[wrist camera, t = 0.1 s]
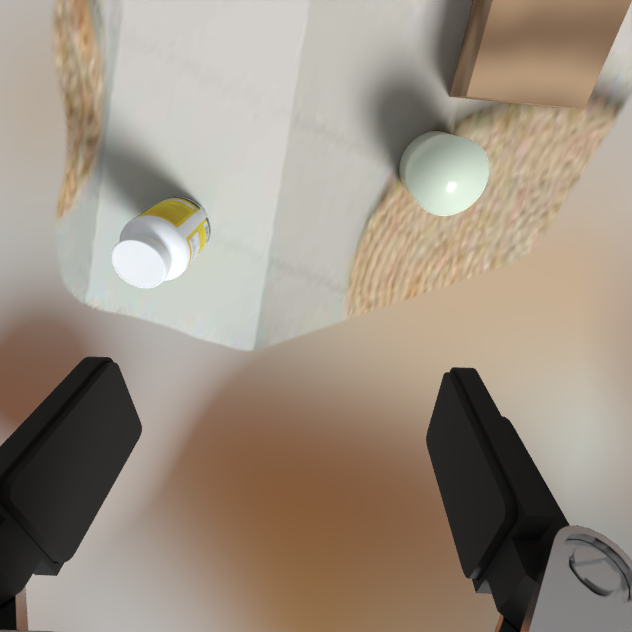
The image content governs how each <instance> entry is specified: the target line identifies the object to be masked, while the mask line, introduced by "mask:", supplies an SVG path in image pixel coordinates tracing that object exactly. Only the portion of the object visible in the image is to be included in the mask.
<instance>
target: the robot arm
mask: <svg viewBox="0 0 632 632" xmlns="http://www.w3.org/2000/svg"><path fill="white" fill-rule="evenodd" d="M141 432H142V425H141V422H140V419H139V417H138V414H137V412H136V409H135V407H134V404H133V401H132V399H131V396H130V394H129V392H128V389H127V386H126V384H125V381H124V378H123V376H122V373H121V371H120V368H119V366H118V364H117V363H114V362H113V360H112V359H111V358H108V357H86V358H84V359H83V360H82V361H81V362H80V363H79V364H78V365H77V366H76V367H75V369H73V370H72V371H71V372H70V374H69V375H68V376H67V377H66V378H65V379H64V380H63V381H62V382H61V383H60V384H59V385H58V386H57V387H56V388H55V389H54V391H53V392H52V393H51V394H50V395H49V396H48V397H47V398H46V399H45V400H44V401H43V402H42V403H41V404H40V405H39V406H38V407H37V409H35V411H34V412H33V413H32V414H31V415H30V416H29V417H28V418H27V419H26V420H25V421H24V422H23V423H22V424H21V425H20V426H19V427H18V428H17V430H16V431H15V432H14V433H13V434H12V435H11V436H10V437H9V438H8V439H7V440H6V441H5V442H4V443H3V444H2V445H1V446H0V632H51V631H28V617H27V602H26V586H25V585H26V584H27V582H28V580H29V579H30V577H31V576H32V574H33V573H34V574H35V575H53V576H57V575H58V573H59V571H60V569H61V567H62V566H63V564H64V562H67V561H68V560H70V559H71V558H72V557H73V555H74V554H75V552H76V550H77V549H78V547H79V545H80V543H81V541H82V540H83V538H84V536H85V534H86V532H87V531H88V529H89V527H90V525H91V524H92V522H93V520H94V518H95V516H96V514H97V513H98V511H99V509H100V507H101V506H102V504H103V502H104V500H105V498H106V497H107V495H108V493H109V491H110V489H111V488H112V486H113V484H114V482H115V481H116V479H117V477H118V475H119V473H120V471H121V470H122V468H123V466H124V464H125V463H126V461H127V459H128V457H129V456H130V453H131V452H132V450H133V448H134V446H135V445H136V443H137V441H138V439H139V437H140V435H141ZM426 442H427V447H428V451H429V454H430V458H431V462H432V465H433V469H434V472H435V476H436V479H437V482H438V486H439V490H440V493H441V496H442V500H443V504H444V507H445V510H446V513H447V517H448V521H449V524H450V528H451V531H452V535H453V538H454V542H455V545H456V549H457V552H458V555H459V559H460V563H461V566H462V569H463V572H464V574H465V576H466V577H467V578H469V579H472V581H473V584H474V588H475V591H476V593H488V594H492V595H493V598H494V601H495V604H496V607H497V610H498V612H500V616H499V619H498V622H497V625H496V628H495V631H494V632H632V560H631V558H630V557H629V556H628V555H627V554H626V553H625V552H624V551H623V550H622V549H621V548H620V547H619V546H618V545H617V544H615V543H614V542H613V541H611V540H610V539H608V538H607V537H606V536H604V535H602V534H600V533H598V532H596V531H594V530H592V529H590V528H586V527H582V526H578V525H577V526H570V525H569V523H568V522H567V520H566V518H565V516H564V515H563V513H562V511H561V509H560V508H559V506H558V504H557V502H556V501H555V499H554V497H553V495H552V494H551V492H550V490H549V488H548V486H547V485H546V483H545V481H544V480H543V478H542V476H541V474H540V472H539V471H538V469H537V467H536V465H535V464H534V462H533V460H532V458H531V457H530V455H529V453H528V451H527V450H526V448H525V446H524V444H523V442H522V441H521V439H520V437H519V436H518V434H517V432H516V430H515V428H514V427H513V425H512V424H511V422H510V421H509V420H508V419H507V418H506V417H502V416H501V414H500V412H499V411H498V409H497V407H496V405H495V403H494V401H493V400H492V398H491V396H490V394H489V392H488V390H487V389H486V387H485V385H484V383H483V382H482V380H481V378H480V376H479V374H478V372H477V371H476V369H474V368H455V367H454V368H452V369H451V370H450V372H447V373H445V374H444V376H443V379H442V382H441V386H440V389H439V393H438V396H437V400H436V403H435V407H434V410H433V414H432V417H431V421H430V424H429V428H428V432H427V436H426Z"/></svg>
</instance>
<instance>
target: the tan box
mask: <svg viewBox="0 0 632 632" xmlns="http://www.w3.org/2000/svg"><path fill="white" fill-rule="evenodd" d="M631 1H632V0H473V4H472V8H471V12H470V16H469V20H468V24H467V28H466V32H465V36H464V40H463V44H462V48H461V52H460V56H459V60H458V64H457V68H456V72H455V76H454V80H453V84H452V88H451V92H450V96H449V97H457V98H466V99H476V100H485V101H495V102H504V103H514V104H523V105H533V106H542V107H552V108H576V109H584V108H585V106H586V104H587V102H588V99H589V97H590V95H591V92H592V90H593V88H594V86H595V83H596V81H597V79H598V77H599V74H600V72H601V70H602V67H603V65H604V63H605V61H606V58H607V56H608V54H609V51H610V49H611V47H612V45H613V42H614V40H615V38H616V36H617V33H618V31H619V29H620V26H621V24H622V22H623V20H624V17H625V15H626V13H627V11H628V8H629V6H630V4H631Z"/></svg>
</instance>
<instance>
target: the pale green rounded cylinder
mask: <svg viewBox="0 0 632 632" xmlns="http://www.w3.org/2000/svg"><path fill="white" fill-rule="evenodd" d="M399 175H400V179H401V182H402V184H403V186H404V187H405V189H406V190H407V191H408V192H409V193H410V194H411V195H412V197H413V198H414V199H415V200H416V201H417V202H418V203H419V205H420V206H421V207H422V208H423V209H425V210H426V211H427V212H429V213H431V214H434V215H439V216H449V215H453V214H457V213H459V212H462V211H463V210H465V209H467V208H468V207H470V206H471V205H472V204H473V203H474V202H475V201H476V200H477V199H478V198H479V196H480V195H481V194H482V192H483V190H484V188H485V186H486V184H487V181H488V176H489V162H488V158H487V155H486V153H485V151H484V150H483V148H482V147H481V146H480V145H479V144H477V143H476V142H474V141H472V140H470V139H467V138H463V137H459V136H456V135H452V134H449V133H445V132H441V131H431V132H427V133H424V134H422V135H420V136H418V137H417V138H415V139H414V140H413V141H412V142H411V143H410V144H409V145H408V146H407V148H406V149H405V151H404V152H403V155H402V157H401V160H400V165H399Z"/></svg>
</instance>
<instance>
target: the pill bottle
mask: <svg viewBox="0 0 632 632" xmlns="http://www.w3.org/2000/svg"><path fill="white" fill-rule="evenodd" d="M210 233H211V227H210V222H209V219H208V217H207V215H206V213H205V212H204V210H203V209H202V208H201V207H200V206H199V205H198V204H197V203H195V202H193V201H192V200H190V199H187V198H184V197H169V198H166V199H164V200H163V201H161V202H159V203H158V204H156V205H155V206H153V207H151V208H150V209H148V210H147V211H145V212H144V213H142V214H140V215H139V216H137V217H135V218H134V219H132V220H131V221H129V222H128V223H127V224H126V225H125V227H124V228H123V230H122V232H121V235H120V242H119V243H117V244H116V245H115V247H114V248H113V250H112V254H111V260H112V264H113V267H114V269H115V271H116V272H117V273H118V275H119V276H120V277H121V278H122V279H123V280H125V281H126V282H128V283H129V284H131V285H133V286H136V287H139V288H152V287H155V286H157V285H159V284H160V283H161V282H162V281H167V280H171V279H174V278H176V277H178V276H179V275H181V274H182V273H183V272H184V271H185V270H186V269H187V267H188V266H189V265H190V264H191V262H192V261H193V260H194V259H195V257H196V256H197V255H198V254H199V252H200V251H201V250H202V249H203V247H204V246H205V245H206V244H207V242H208V240H209V238H210Z"/></svg>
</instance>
